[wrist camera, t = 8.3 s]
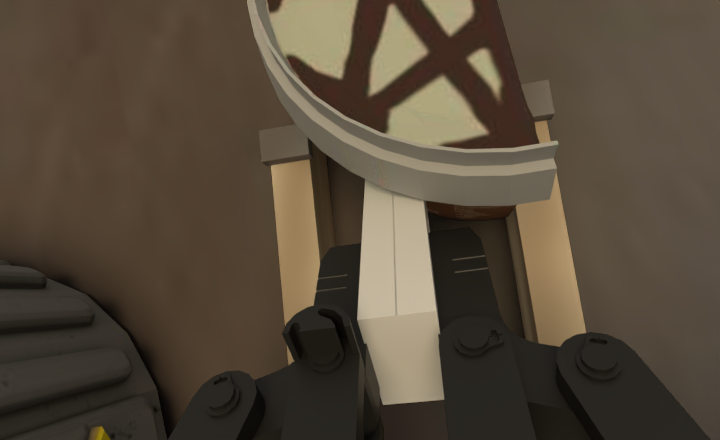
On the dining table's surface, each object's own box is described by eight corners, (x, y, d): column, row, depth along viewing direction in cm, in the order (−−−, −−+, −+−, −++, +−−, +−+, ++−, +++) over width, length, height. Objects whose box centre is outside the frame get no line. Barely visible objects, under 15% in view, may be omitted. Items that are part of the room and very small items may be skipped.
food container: (313, 24, 23) (199, -199, 13) (445, -17, 22) (424, -289, 12) (360, 287, 20) (255, 243, 10) (518, 254, 19) (567, 170, 9)
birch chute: (530, 116, 20) (548, 79, 17) (643, 738, 17) (695, 858, 13) (289, 156, 22) (258, 130, 18) (343, 732, 18) (318, 838, 15)
